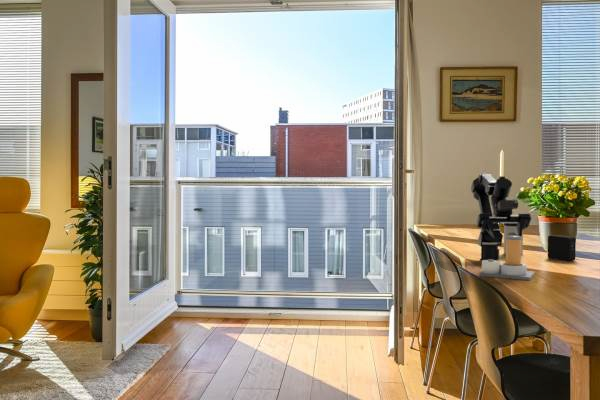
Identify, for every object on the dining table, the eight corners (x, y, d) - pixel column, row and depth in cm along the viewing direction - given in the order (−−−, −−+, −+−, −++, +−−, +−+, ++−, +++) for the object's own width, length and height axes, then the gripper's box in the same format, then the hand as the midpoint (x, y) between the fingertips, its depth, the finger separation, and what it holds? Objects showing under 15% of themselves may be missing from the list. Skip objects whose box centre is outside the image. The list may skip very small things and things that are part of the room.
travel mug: (508, 252, 235) (508, 214, 234) (525, 254, 229) (525, 214, 228) (500, 254, 229) (501, 215, 228) (518, 256, 224) (518, 215, 223)
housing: (479, 275, 180) (479, 260, 179) (486, 270, 190) (487, 255, 190) (529, 280, 171) (530, 264, 171) (534, 274, 182) (534, 258, 181)
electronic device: (569, 261, 208) (569, 237, 208) (547, 258, 217) (547, 235, 217) (575, 260, 210) (575, 237, 210) (553, 257, 219) (554, 234, 219)
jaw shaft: (502, 271, 181) (503, 235, 180) (511, 270, 183) (512, 235, 183) (514, 274, 177) (515, 237, 176) (523, 273, 179) (524, 236, 179)
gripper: (478, 192, 192) (485, 224, 181) (530, 192, 189) (539, 224, 179) (474, 211, 200) (480, 242, 190) (523, 211, 197) (532, 243, 187)
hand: (507, 237), depth 186 cm, fingers open, 9 cm apart
